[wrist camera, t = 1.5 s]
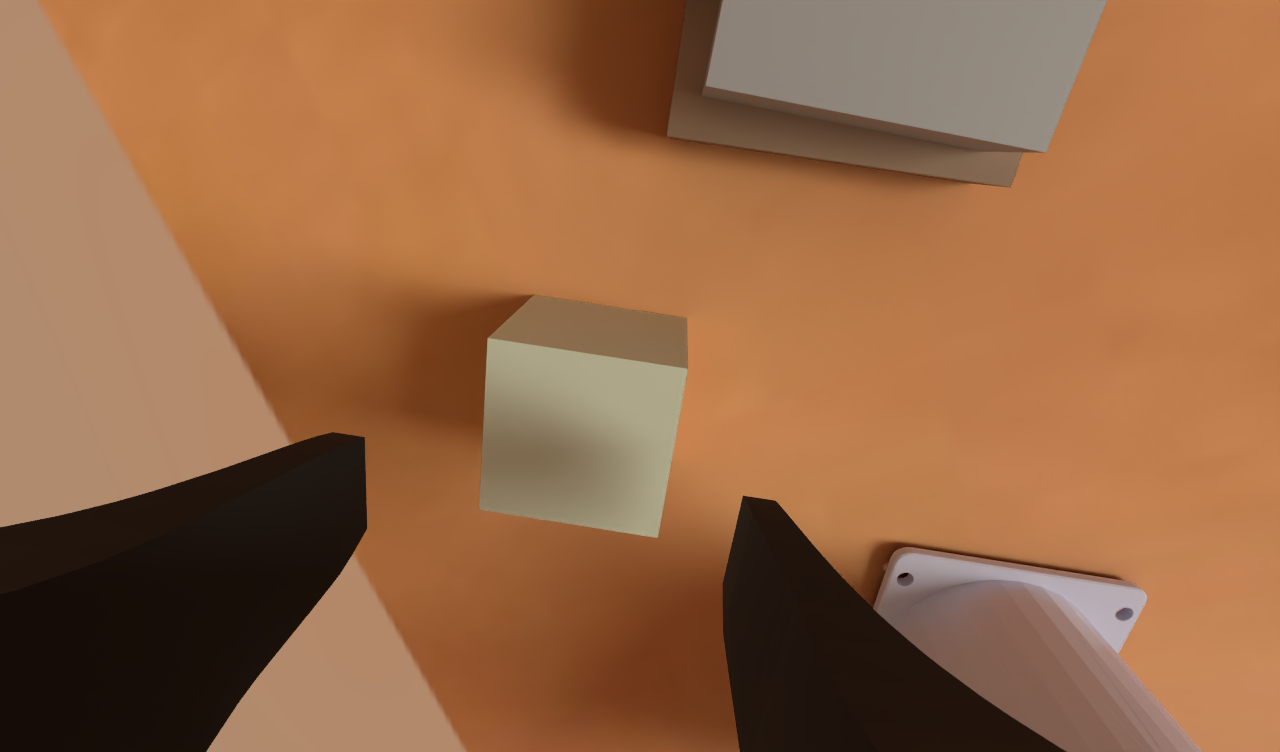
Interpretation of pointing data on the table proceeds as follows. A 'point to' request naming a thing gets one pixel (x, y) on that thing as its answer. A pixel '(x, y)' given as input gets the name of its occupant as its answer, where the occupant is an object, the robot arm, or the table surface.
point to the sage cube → (582, 414)
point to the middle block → (908, 65)
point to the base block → (808, 125)
